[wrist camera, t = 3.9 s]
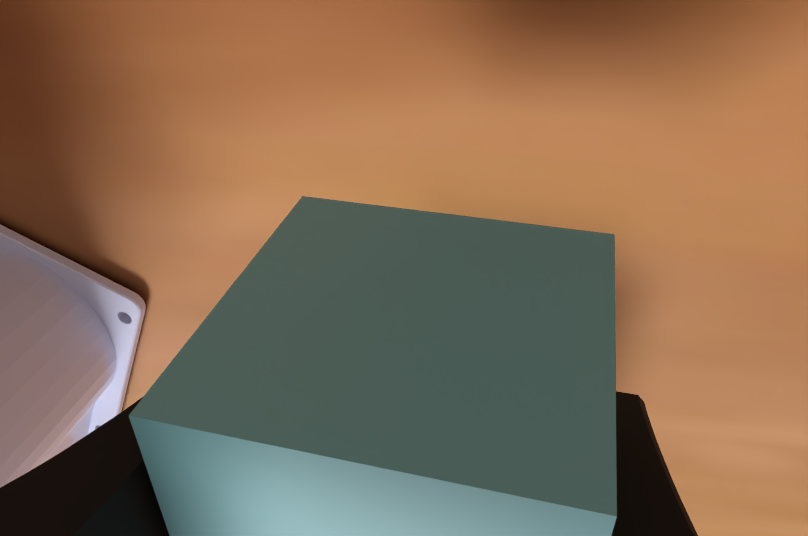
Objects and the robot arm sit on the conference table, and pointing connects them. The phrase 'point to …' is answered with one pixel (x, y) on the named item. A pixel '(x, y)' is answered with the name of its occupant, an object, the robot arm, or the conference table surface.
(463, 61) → the conference table surface
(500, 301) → the teal block
